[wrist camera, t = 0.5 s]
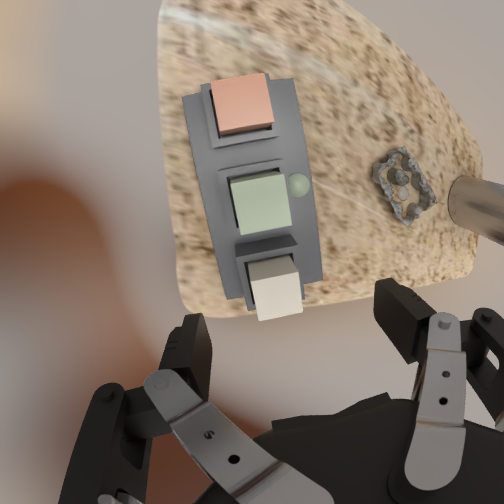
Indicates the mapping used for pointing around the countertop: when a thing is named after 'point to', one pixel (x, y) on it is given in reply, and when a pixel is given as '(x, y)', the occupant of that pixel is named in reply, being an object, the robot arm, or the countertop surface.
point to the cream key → (275, 287)
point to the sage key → (261, 202)
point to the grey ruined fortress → (401, 179)
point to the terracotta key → (242, 103)
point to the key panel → (247, 163)
